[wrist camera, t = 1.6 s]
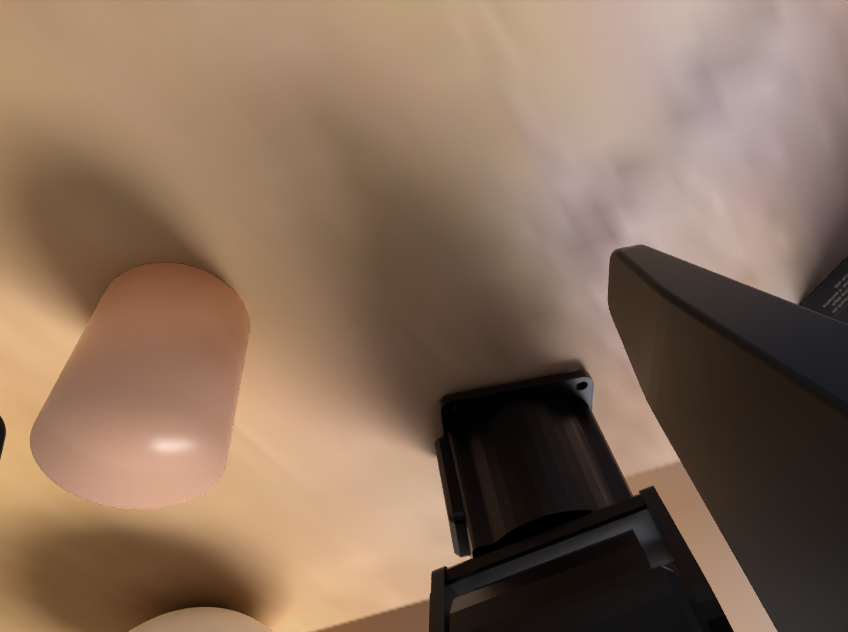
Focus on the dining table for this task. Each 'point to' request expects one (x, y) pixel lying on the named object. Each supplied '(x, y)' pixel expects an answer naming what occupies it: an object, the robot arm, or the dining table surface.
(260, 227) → the dining table surface
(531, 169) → the dining table surface
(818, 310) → the small box
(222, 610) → the decorative ball
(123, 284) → the peach rounded cylinder
